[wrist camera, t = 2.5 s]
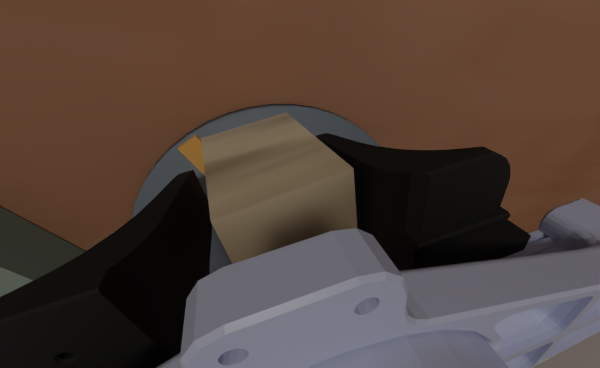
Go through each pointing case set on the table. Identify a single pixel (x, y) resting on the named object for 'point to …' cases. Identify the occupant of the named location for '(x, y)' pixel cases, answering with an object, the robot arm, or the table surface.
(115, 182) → the table surface
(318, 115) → the crank base
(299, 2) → the table surface
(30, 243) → the tray
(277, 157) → the wooden block
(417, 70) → the table surface
